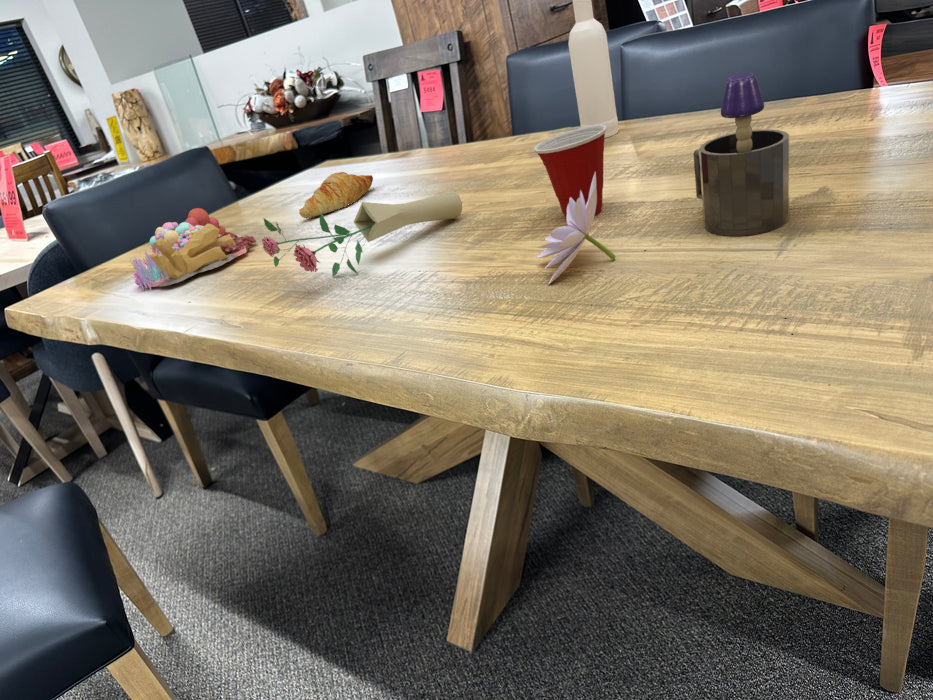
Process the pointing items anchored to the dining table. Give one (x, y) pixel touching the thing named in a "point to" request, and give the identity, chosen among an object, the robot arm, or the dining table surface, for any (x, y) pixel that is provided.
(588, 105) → the bottle
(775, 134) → the mug
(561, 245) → the water lily
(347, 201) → the croissant
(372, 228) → the flower vase
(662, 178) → the dining table surface
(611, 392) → the dining table surface
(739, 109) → the toy lamp
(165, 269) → the pastel sphere sculpture
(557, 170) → the plastic cup
